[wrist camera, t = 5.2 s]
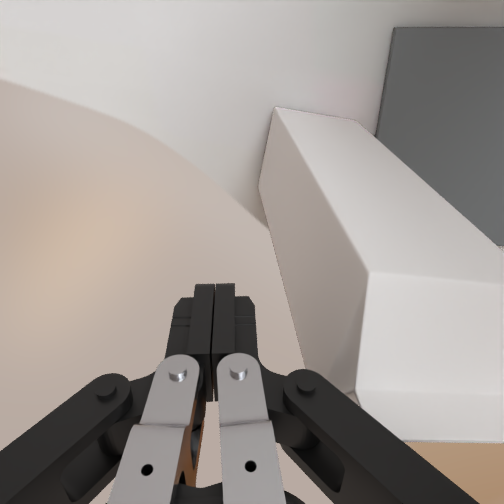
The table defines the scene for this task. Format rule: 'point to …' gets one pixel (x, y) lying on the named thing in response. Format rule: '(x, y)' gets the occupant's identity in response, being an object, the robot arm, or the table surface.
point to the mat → (450, 116)
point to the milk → (385, 281)
